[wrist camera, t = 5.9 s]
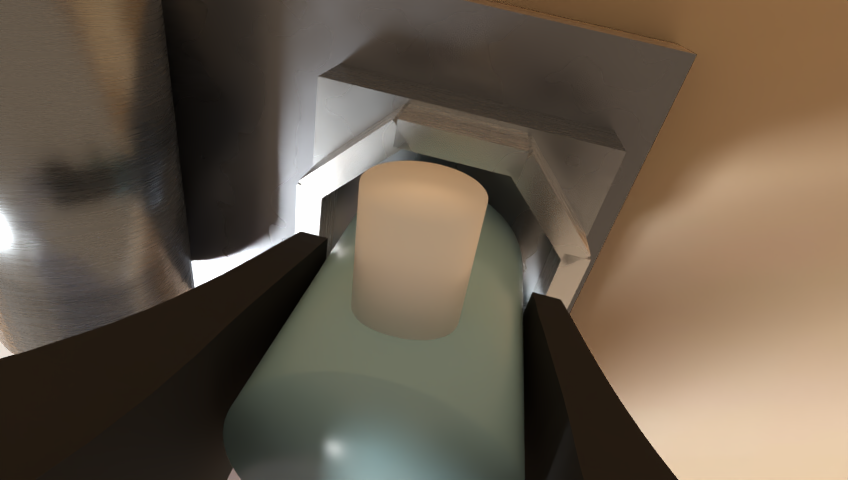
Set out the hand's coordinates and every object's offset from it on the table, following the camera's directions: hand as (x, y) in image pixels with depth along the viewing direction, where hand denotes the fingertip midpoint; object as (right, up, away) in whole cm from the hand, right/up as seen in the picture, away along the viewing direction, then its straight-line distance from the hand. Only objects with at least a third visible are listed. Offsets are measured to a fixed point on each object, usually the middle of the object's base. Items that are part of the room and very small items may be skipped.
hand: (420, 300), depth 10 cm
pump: (0, +1, +1) cm, 1 cm away
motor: (-3, +4, +5) cm, 7 cm away
